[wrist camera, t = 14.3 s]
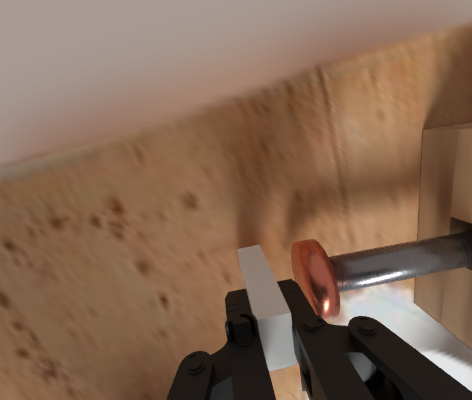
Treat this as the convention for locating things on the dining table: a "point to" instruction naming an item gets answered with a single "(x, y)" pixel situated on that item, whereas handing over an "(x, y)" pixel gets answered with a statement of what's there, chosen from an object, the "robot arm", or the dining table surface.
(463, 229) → the dock
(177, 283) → the dining table surface
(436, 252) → the lock pin
